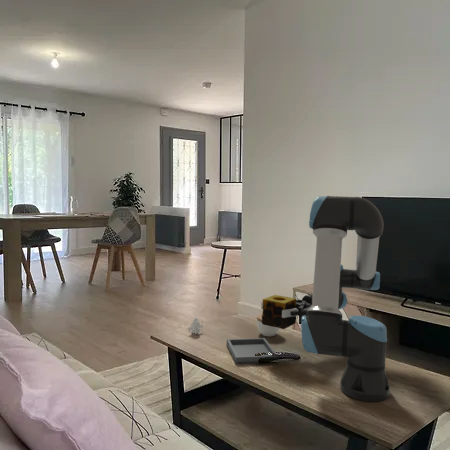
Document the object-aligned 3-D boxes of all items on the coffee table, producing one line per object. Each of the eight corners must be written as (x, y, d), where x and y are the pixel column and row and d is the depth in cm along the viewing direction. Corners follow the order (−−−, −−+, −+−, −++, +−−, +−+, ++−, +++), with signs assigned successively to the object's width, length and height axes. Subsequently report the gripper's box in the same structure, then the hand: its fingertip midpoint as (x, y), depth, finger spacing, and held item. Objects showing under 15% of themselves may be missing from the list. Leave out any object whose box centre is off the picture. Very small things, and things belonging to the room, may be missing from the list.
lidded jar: (281, 338, 192) (282, 317, 191) (256, 337, 192) (257, 316, 191) (279, 330, 202) (280, 310, 202) (255, 330, 202) (256, 309, 202)
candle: (284, 329, 165) (284, 303, 164) (260, 324, 171) (261, 299, 170) (296, 323, 173) (297, 298, 172) (274, 318, 179) (274, 294, 178)
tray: (278, 362, 165) (278, 355, 165) (235, 364, 162) (236, 357, 162) (264, 343, 184) (264, 337, 184) (226, 345, 182) (226, 339, 181)
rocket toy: (200, 336, 192) (200, 318, 192) (188, 335, 193) (188, 317, 193) (203, 332, 198) (203, 314, 197) (191, 331, 199) (191, 313, 198)
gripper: (335, 320, 170) (292, 328, 160) (294, 305, 192) (253, 311, 181) (336, 301, 170) (292, 307, 159) (295, 288, 191) (254, 293, 180)
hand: (271, 309), depth 170 cm, fingers closed on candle, 13 cm apart
